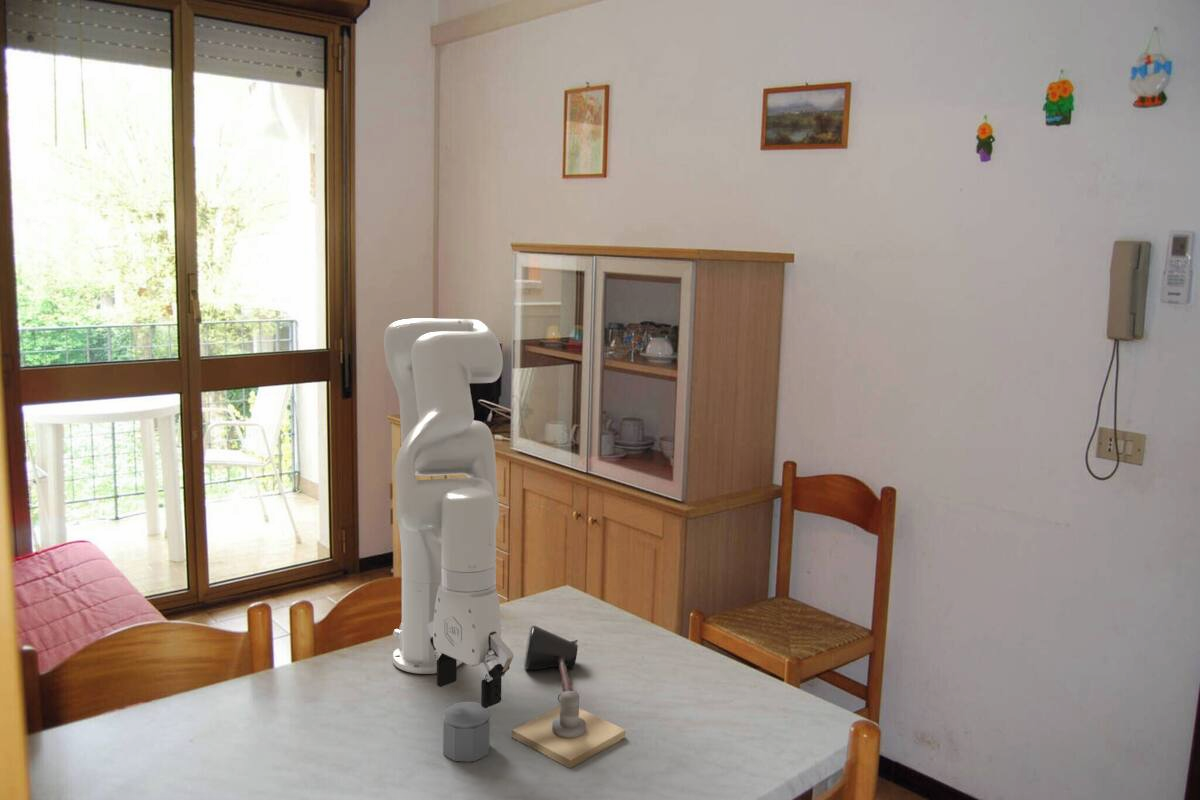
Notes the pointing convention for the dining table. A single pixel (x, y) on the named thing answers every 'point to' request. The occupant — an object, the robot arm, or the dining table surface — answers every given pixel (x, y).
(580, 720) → the plate with round knob
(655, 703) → the dining table surface
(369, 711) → the dining table surface
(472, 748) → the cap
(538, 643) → the coffee pot
